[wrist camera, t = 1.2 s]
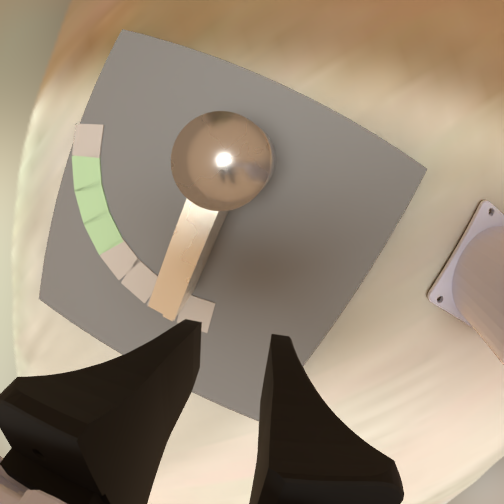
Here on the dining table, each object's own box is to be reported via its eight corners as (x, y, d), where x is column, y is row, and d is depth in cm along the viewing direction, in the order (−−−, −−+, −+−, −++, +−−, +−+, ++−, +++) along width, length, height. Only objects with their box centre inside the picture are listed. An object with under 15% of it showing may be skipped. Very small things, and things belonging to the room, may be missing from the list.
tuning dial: (216, 109, 17) (194, 96, 13) (288, 140, 17) (287, 135, 13) (144, 295, 21) (114, 327, 17) (203, 324, 21) (183, 363, 17)
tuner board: (421, 168, 17) (428, 169, 16) (259, 413, 24) (258, 422, 23) (126, 32, 17) (118, 28, 16) (43, 292, 24) (36, 297, 23)
